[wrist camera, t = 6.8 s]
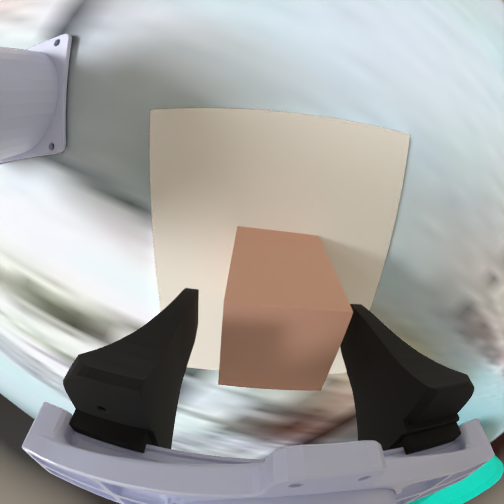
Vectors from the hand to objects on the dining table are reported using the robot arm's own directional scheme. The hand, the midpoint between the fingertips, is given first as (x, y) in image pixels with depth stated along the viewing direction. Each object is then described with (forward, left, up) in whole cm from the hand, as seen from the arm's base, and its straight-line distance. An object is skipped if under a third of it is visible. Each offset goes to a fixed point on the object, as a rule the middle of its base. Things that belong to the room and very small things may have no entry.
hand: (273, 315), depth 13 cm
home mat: (0, 0, -5) cm, 5 cm away
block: (0, 0, -4) cm, 4 cm away
